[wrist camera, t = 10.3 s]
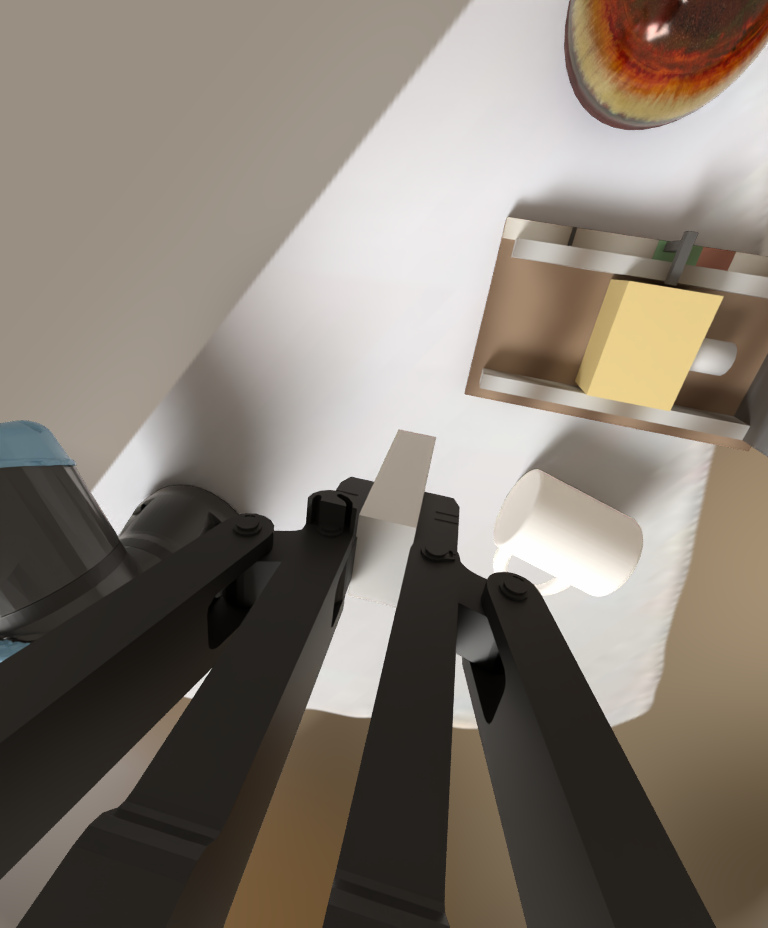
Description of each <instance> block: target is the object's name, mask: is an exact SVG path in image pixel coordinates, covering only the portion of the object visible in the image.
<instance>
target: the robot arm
mask: <svg viewBox="0 0 768 928" xmlns="http://www.w3.org/2000/svg"><path fill="white" fill-rule="evenodd" d="M435 440H436V437H433V436H428V435H423V434H418V433H413V432H409V431H404V430H398V432H397V434H396V436H395V438H394V441H393V443H392V445H391V447H390V449H389V451H388V454H387V456H386V458H385V460H384V462H383V464H382V466H381V469H380V471H379V473H378V475H377V477H376V479H375V482H373V481H368V480H364V479H359V478H354V477H350V478H348V479H346V480H344V481H342V482H341V483H340V485H339V486H338V488H337V489H336V491H333V490H325V491H319V492H316V493H313V494H312V495H311V496H309V497H308V505H307V517H306V525H305V526H304V528H303V529H302V530H297V531H274V525H273V523H272V521H271V520H270V519H268V518H266V517H265V516H262V515H258V514H240V515H238V514H237V513H236V512H235V511H234V510H233V509H232V508H231V507H230V506H229V505H228V504H227V503H226V502H224V501H223V500H222V499H220V498H219V497H217V496H215V495H214V494H212V493H210V492H208V491H205V490H203V489H200V488H197V487H193V486H187V485H173V486H168V487H165V488H162V489H160V490H158V491H156V492H155V493H154V494H152V495H151V496H149V497H148V498H146V499H145V500H144V501H143V502H142V503H140V505H139V506H138V507H137V508H136V509H135V511H134V513H133V514H132V516H131V517H130V519H129V520H128V522H127V523H126V525H125V527H124V528H123V530H122V531H121V533H120V534H119V536H117V534H116V532H115V531H114V529H113V527H112V526H111V524H110V523H109V521H108V519H107V518H106V516H105V515H104V513H103V511H102V510H101V508H100V507H99V505H98V503H97V502H96V500H95V498H94V497H93V495H92V494H91V492H90V490H89V489H88V487H87V485H86V484H85V482H84V480H83V478H82V477H81V475H80V474H79V472H78V470H77V468H76V467H75V466H76V463H75V461H74V460H72V459H70V458H69V456H68V455H67V453H66V452H65V451H64V449H63V448H62V447H61V445H60V444H59V442H58V441H57V439H56V438H55V437H54V435H53V434H52V432H51V431H50V430H49V429H48V428H46V427H45V426H43V425H41V424H39V423H36V422H32V421H23V420H21V421H12V422H5V423H0V879H1V878H2V877H3V876H4V875H5V874H6V873H7V872H8V871H9V870H10V869H11V868H12V867H13V866H14V865H15V864H16V863H17V862H18V861H19V860H20V859H21V858H22V857H23V856H24V855H25V854H26V853H27V852H28V851H29V850H30V849H31V848H32V847H33V846H34V845H35V844H36V843H37V842H38V841H39V840H40V839H41V838H42V837H43V836H44V835H45V834H46V833H47V832H48V831H49V830H50V829H51V828H52V827H53V826H54V825H55V824H56V823H57V822H58V821H59V820H60V819H61V818H62V817H63V816H64V815H65V814H66V813H67V812H68V811H69V810H70V809H71V808H72V807H73V806H74V805H75V804H76V803H77V802H78V801H79V800H80V799H81V798H82V797H83V796H84V795H85V794H86V793H87V792H88V791H89V790H90V789H91V788H92V787H93V786H94V785H95V784H96V783H97V782H98V781H99V780H100V779H101V778H102V777H103V776H104V775H105V774H106V773H107V772H108V771H109V770H110V769H111V768H112V767H113V766H114V765H115V764H116V763H117V762H118V761H119V760H120V759H121V758H122V757H123V756H124V755H125V754H126V753H127V752H128V751H129V750H130V749H131V748H132V747H133V746H134V745H135V744H136V743H137V742H138V741H139V740H140V739H141V738H142V737H143V736H144V735H145V734H146V733H147V732H148V731H149V730H150V729H151V728H152V727H153V726H154V725H155V724H156V723H157V722H158V721H159V720H160V719H161V718H162V717H163V716H164V715H165V714H166V713H167V712H168V711H169V710H170V709H171V708H172V707H173V706H174V705H175V704H176V703H177V702H178V701H179V700H180V699H181V698H182V697H183V696H184V695H185V694H186V693H187V692H188V691H189V690H190V689H191V688H192V687H193V686H194V685H195V684H196V683H197V682H198V681H199V680H200V679H201V678H202V677H203V676H204V675H205V674H206V673H207V672H208V671H209V670H210V669H211V668H212V667H213V668H212V669H211V671H210V672H209V674H208V675H207V677H206V678H205V680H204V682H203V683H202V685H201V686H200V688H199V689H198V691H197V692H196V694H195V695H194V697H193V698H192V700H191V702H190V703H189V705H188V706H187V708H186V709H185V711H184V712H183V714H182V716H181V717H180V718H179V720H178V722H177V723H176V725H175V726H174V728H173V729H172V731H171V732H170V734H169V735H168V737H167V738H166V740H165V742H164V743H163V745H162V746H161V748H160V749H159V751H158V752H157V754H156V755H155V757H154V758H153V760H152V762H151V763H150V765H149V766H148V768H147V769H146V771H145V772H144V774H143V775H142V777H141V779H140V780H139V782H138V783H137V785H136V786H135V788H134V789H133V791H132V792H131V794H130V795H129V796H128V797H127V799H126V800H125V801H124V802H123V803H122V804H121V805H120V806H119V807H118V808H115V809H112V810H109V811H107V812H104V813H102V814H101V815H100V816H99V817H98V818H96V819H95V820H94V821H93V822H92V823H91V824H90V825H89V826H88V827H87V828H86V829H85V831H84V832H83V833H82V835H81V836H80V837H79V838H78V840H77V841H76V842H75V844H74V845H73V846H72V848H71V849H70V851H69V852H68V853H67V855H66V856H65V858H64V859H63V861H62V862H61V864H60V865H59V866H58V868H57V869H56V871H55V872H54V874H53V875H52V877H51V878H50V879H49V881H48V882H47V884H46V885H45V887H44V888H43V890H42V891H41V892H40V894H39V895H38V897H37V898H36V900H35V901H34V903H33V904H32V906H31V907H30V909H29V910H28V911H27V913H26V914H25V916H24V917H23V919H22V920H21V921H20V923H19V924H18V926H17V927H16V928H223V927H224V924H225V921H226V918H227V915H228V913H229V910H230V907H231V905H232V902H233V899H234V897H235V894H236V891H237V889H238V886H239V883H240V881H241V878H242V875H243V873H244V870H245V868H246V865H247V862H248V860H249V857H250V854H251V852H252V849H253V846H254V844H255V841H256V838H257V835H258V833H259V830H260V828H261V825H262V822H263V819H264V817H265V814H266V812H267V809H268V807H269V804H270V801H271V798H272V796H273V793H274V791H275V788H276V785H277V782H278V780H279V777H280V775H281V772H282V769H283V767H284V764H285V761H286V759H287V756H288V754H289V751H290V748H291V746H292V743H293V740H294V738H295V735H296V732H297V730H298V727H299V724H300V722H301V719H302V716H303V713H304V711H305V709H306V706H307V703H308V701H309V698H310V695H311V693H312V690H313V687H314V685H315V682H316V679H317V677H318V674H319V671H320V669H321V666H322V664H323V661H324V658H325V656H326V653H327V650H328V648H329V645H330V642H331V640H332V637H333V634H334V632H335V629H336V626H337V624H338V621H339V618H340V616H341V613H342V611H343V606H344V599H345V594H346V591H347V589H348V586H349V589H348V596H352V597H356V598H360V599H364V600H368V601H372V602H376V603H380V604H384V605H388V606H392V607H396V612H395V616H394V621H393V625H392V630H391V634H390V638H389V643H388V647H387V651H386V656H385V660H384V664H383V669H382V673H381V678H380V682H379V686H378V691H377V695H376V699H375V704H374V708H373V712H372V717H371V722H370V726H369V731H368V734H367V739H366V743H365V747H364V752H363V756H362V760H361V765H360V770H359V774H358V778H357V782H356V787H355V791H354V796H353V800H352V804H351V808H350V813H349V818H348V822H347V826H346V830H345V835H344V839H343V843H342V848H341V852H340V856H339V861H338V865H337V870H336V874H335V878H334V882H333V886H332V890H331V893H330V898H329V902H328V906H327V911H326V915H325V919H324V924H323V928H450V926H449V923H448V920H447V917H446V914H445V905H444V900H445V872H446V851H447V829H448V809H449V786H450V766H451V745H452V744H451V743H452V724H453V703H454V681H455V660H456V654H458V655H460V656H462V665H463V669H464V673H465V677H466V681H467V685H468V689H469V693H470V697H471V701H472V705H473V709H474V714H475V718H476V722H477V726H478V730H479V734H480V737H481V742H482V746H483V750H484V754H485V758H486V762H487V766H488V770H489V774H490V778H491V782H492V786H493V791H494V795H495V799H496V803H497V807H498V811H499V815H500V819H501V823H502V827H503V831H504V835H505V839H506V843H507V848H508V851H509V856H510V860H511V864H512V868H513V872H514V876H515V880H516V884H517V888H518V892H519V896H520V900H521V904H522V908H523V913H524V917H525V920H526V925H527V928H716V926H715V924H714V923H713V921H712V919H711V917H710V915H709V913H708V911H707V909H706V907H705V906H704V904H703V902H702V900H701V898H700V896H699V894H698V892H697V890H696V888H695V886H694V884H693V883H692V881H691V879H690V877H689V875H688V873H687V871H686V869H685V867H684V865H683V864H682V862H681V860H680V858H679V856H678V854H677V852H676V850H675V848H674V846H673V845H672V843H671V841H670V839H669V837H668V835H667V833H666V831H665V829H664V827H663V826H662V824H661V822H660V820H659V818H658V816H657V815H656V812H655V810H654V808H653V806H652V805H651V803H650V801H649V799H648V797H647V795H646V793H645V791H644V789H643V787H642V786H641V784H640V782H639V780H638V778H637V776H636V774H635V772H634V770H633V769H632V767H631V765H630V763H629V761H628V759H627V757H626V755H625V753H624V751H623V749H622V748H621V746H620V744H619V742H618V740H617V738H616V736H615V734H614V732H613V730H612V728H611V727H610V725H609V723H608V721H607V719H606V717H605V715H604V713H603V711H602V709H601V708H600V706H599V704H598V702H597V700H596V698H595V696H594V694H593V692H592V690H591V689H590V687H589V685H588V683H587V681H586V679H585V677H584V675H583V673H582V671H581V670H580V668H579V666H578V664H577V662H576V660H575V658H574V656H573V654H572V652H571V651H570V649H569V647H568V645H567V643H566V641H565V639H564V637H563V635H562V633H561V631H560V630H559V628H558V626H557V624H556V622H555V620H554V618H553V616H552V614H551V612H550V611H549V609H548V607H547V605H546V603H545V601H544V599H543V597H542V595H541V593H540V592H539V590H538V589H537V588H536V587H535V585H534V584H532V583H531V582H530V581H528V580H527V579H526V578H524V577H521V576H519V575H517V574H514V573H509V572H496V573H494V574H492V575H490V576H489V577H488V579H485V578H483V577H481V576H479V575H477V574H475V573H473V572H471V571H470V570H469V569H467V568H466V567H465V566H464V565H463V564H462V563H461V562H460V557H459V553H458V552H457V544H458V526H459V525H458V524H459V506H458V504H457V503H456V501H455V500H454V498H450V497H445V496H441V495H436V494H432V493H427V492H424V491H425V486H426V482H427V477H428V473H429V468H430V463H431V459H432V454H433V449H434V445H435Z"/></svg>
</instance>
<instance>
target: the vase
mask: <svg viewBox="0 0 768 928" xmlns="http://www.w3.org/2000/svg"><path fill="white" fill-rule="evenodd" d="M767 43H768V0H570V1H569V6H568V12H567V18H566V24H565V42H564V50H565V60H566V68H567V72H568V76H569V80H570V83H571V86H572V88H573V91H574V93H575V95H576V97H577V99H578V100H579V102H580V103H581V105H582V106H583V107H584V108H585V109H586V110H587V111H588V112H589V114H590V115H591V116H593V117H594V118H596V119H597V120H599V121H600V122H602V123H604V124H607V125H609V126H611V127H614V128H620V129H625V130H643V129H649V128H655V127H660V126H663V125H665V124H668V123H671V122H674V121H677V120H679V119H681V118H683V117H685V116H687V115H689V114H691V113H693V112H695V111H697V110H698V109H700V108H701V107H703V106H704V105H706V104H707V103H709V102H710V101H712V100H713V99H714V98H716V97H717V96H719V95H720V94H721V93H722V92H723V91H724V90H725V89H727V88H728V87H729V86H730V85H731V84H732V83H733V82H735V81H736V80H737V79H738V78H739V77H740V76H741V74H742V73H743V72H744V71H745V70H746V69H747V68H748V67H749V66H750V65H751V64H752V63H753V61H754V60H755V59H756V58H757V57H758V55H759V54H760V53H761V51H762V50H763V49H764V47H765V46H766V45H767Z"/></svg>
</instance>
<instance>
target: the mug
mask: <svg viewBox="0 0 768 928" xmlns="http://www.w3.org/2000/svg"><path fill="white" fill-rule="evenodd" d="M493 537H494V542H495V544H496V545H497V546H498V548H497V550H496V552H495V555H494V559H493V569H494V572H495V573H496V572H508V571H507V568H508V563H509V561H510V559H511V557H512V555H515V556H517V557H519V558H520V559H522V560H524V561H526V562H528V563H530V564H532V565H534V566H536V567H538V568H540V569H542V570H544V571H545V572H547V573H549V574H551V575H553V576H555V577H554V578H553V579H551V580H550V581H548V582H546V583H543V584H534V585H535V587H536V588H537V589H538V590H539V592H540V593H541V595H551V594H555V593H558V592H561V591H563V590H565V589H566V588H568V587H570V586H571V585H572V586H574V587H576V588H578V589H580V590H582V591H584V592H586V593H588V594H590V595H592V596H605V595H608V594H610V593H612V592H614V591H615V590H617V589H618V588H619V587H621V586H622V585H623V584H624V583H625V582H626V581H627V579H628V578H629V577H630V575H631V574H632V573H633V571H634V569H635V567H636V565H637V563H638V561H639V558H640V556H641V552H642V547H643V534H642V530H641V527H640V525H639V524H638V523H637V522H636V521H635V520H634V519H633V518H631V517H629V516H627V515H625V514H623V513H621V512H619V511H617V510H616V509H614V508H612V507H610V506H608V505H606V504H604V503H602V502H600V501H598V500H596V499H595V498H593V497H591V496H589V495H587V494H585V493H583V492H581V491H579V490H577V489H576V488H574V487H572V486H570V485H568V484H566V483H564V482H562V481H560V480H558V479H556V478H555V477H553V476H551V475H549V474H547V473H545V472H543V471H541V470H539V469H535V470H531V471H529V472H528V473H526V474H525V475H524V476H523V477H522V478H521V479H520V480H519V481H518V482H517V483H516V484H515V485H514V487H513V488H512V490H511V491H510V493H509V494H508V496H507V497H506V499H505V501H504V503H503V505H502V507H501V509H500V511H499V514H498V516H497V519H496V522H495V527H494V533H493Z"/></svg>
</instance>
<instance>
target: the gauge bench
mask: <svg viewBox="0 0 768 928" xmlns="http://www.w3.org/2000/svg"><path fill="white" fill-rule="evenodd" d="M667 242H669V241H663V240H655V239H648V238H642V237H635V236H629V235H622V234H616V233H609V232H602V231H596V230H589V229H583V228H577V227H570V226H563V225H557V224H550V223H543V222H537V221H530V220H524V219H517V218H511V217H507V219H506V222H505V226H504V231H503V235H502V239H501V243H500V247H499V251H498V256H497V260H496V264H495V268H494V272H493V276H492V281H491V285H490V289H489V293H488V297H487V301H486V306H485V310H484V314H483V318H482V322H481V326H480V331H479V335H478V339H477V343H476V347H475V351H474V356H473V360H472V364H471V368H470V372H469V376H468V381H467V385H466V389H465V394H466V395H471V396H476V397H481V398H486V399H491V400H496V401H501V402H506V403H511V404H516V405H521V406H526V407H531V408H536V409H541V410H546V411H551V412H556V413H561V414H566V415H571V416H576V417H581V418H586V419H590V420H595V421H600V422H605V423H610V424H615V425H620V426H625V427H630V428H635V429H640V430H645V431H650V432H655V433H660V434H665V435H670V436H675V437H680V438H685V439H690V440H695V441H700V442H705V443H710V444H715V445H720V446H725V447H730V448H735V449H740V450H745V451H749V449H750V448H751V446H752V447H753V448H755V449H757V450H758V451H760V452H761V453H763V454H764V455H766V456H768V257H766V256H760V255H754V254H747V253H740V252H735V251H728V250H722V249H715V248H709V247H702V246H695V245H693V247H692V249H691V252H690V254H689V257H688V259H687V261H686V264H685V266H684V269H683V271H682V273H681V276H680V278H679V281H678V283H677V285H668V284H664V282H665V279H666V277H667V275H668V272H669V270H670V267H671V265H672V262H673V260H674V257H675V255H676V253H669V252H663V250H664V248H665V245H666V243H667ZM611 279H613V280H625V281H633V282H639V283H645V284H651V285H658V286H664V287H670V288H676V289H682V290H688V291H694V292H700V293H706V294H713V295H719V296H724V297H723V299H722V301H721V304H720V306H719V308H718V310H717V312H716V314H715V316H714V319H713V321H712V323H711V325H710V327H709V329H708V331H707V333H706V336H705V338H708V339H714V340H720V341H725V342H731V343H734V344H735V345H736V347H737V354H736V358H735V361H734V363H733V365H732V366H731V368H730V369H729V370H728V371H727V372H726V373H725V374H723V375H721V376H717V375H711V374H706V373H700V372H695V371H689V372H688V374H687V376H686V378H685V380H684V383H683V385H682V387H681V389H680V391H679V393H678V395H677V398H676V400H675V402H674V404H673V406H672V408H671V410H670V411H666V410H661V409H656V408H650V407H645V406H640V405H635V404H630V403H625V402H620V401H615V400H609V399H604V398H599V397H594V396H589V395H586V394H585V393H584V391H583V390H582V389H581V388H580V387H579V385H578V384H577V383H576V382H575V380H576V377H577V374H578V371H579V368H580V365H581V363H582V360H583V357H584V354H585V351H586V348H587V346H588V343H589V340H590V337H591V334H592V331H593V329H594V326H595V323H596V320H597V317H598V314H599V312H600V309H601V306H602V303H603V300H604V297H605V295H606V292H607V289H608V286H609V283H610V280H611Z"/></svg>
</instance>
